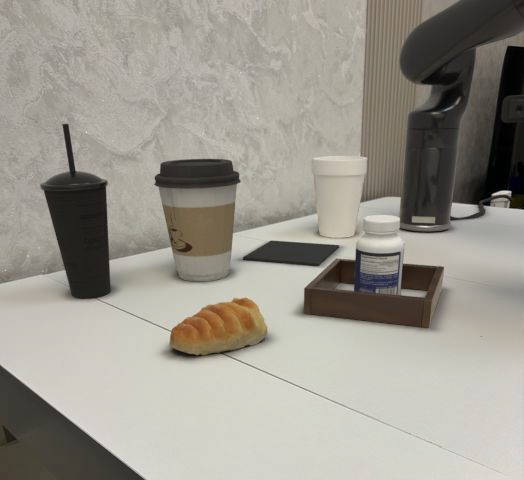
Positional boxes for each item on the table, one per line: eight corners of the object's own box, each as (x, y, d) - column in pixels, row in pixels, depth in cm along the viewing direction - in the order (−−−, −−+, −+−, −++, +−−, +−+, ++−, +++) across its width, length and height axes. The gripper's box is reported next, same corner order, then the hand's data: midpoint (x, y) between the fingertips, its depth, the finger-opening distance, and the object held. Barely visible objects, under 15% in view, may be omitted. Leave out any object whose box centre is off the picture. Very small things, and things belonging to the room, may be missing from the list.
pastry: (193, 367, 49) (189, 327, 48) (156, 345, 54) (152, 308, 53) (273, 340, 55) (272, 303, 53) (233, 322, 59) (231, 288, 58)
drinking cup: (102, 280, 75) (80, 122, 67) (133, 291, 70) (112, 122, 62) (49, 293, 70) (18, 125, 62) (77, 306, 65) (47, 125, 57)
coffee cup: (146, 276, 77) (134, 163, 71) (207, 259, 84) (200, 156, 78) (200, 291, 69) (191, 168, 63) (261, 272, 77) (258, 160, 71)
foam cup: (316, 227, 105) (318, 155, 99) (365, 229, 102) (369, 155, 97) (306, 238, 96) (307, 160, 91) (359, 240, 94) (363, 160, 89)
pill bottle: (362, 291, 68) (367, 212, 64) (405, 297, 66) (412, 215, 62) (346, 304, 64) (350, 220, 60) (391, 311, 61) (398, 224, 57)
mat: (271, 242, 94) (270, 240, 94) (339, 247, 90) (339, 245, 90) (242, 259, 84) (242, 257, 84) (318, 266, 80) (318, 263, 79)
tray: (335, 280, 73) (336, 258, 72) (441, 289, 68) (444, 266, 67) (303, 313, 61) (304, 288, 60) (429, 328, 57) (432, 300, 55)
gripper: (700, 55, 51) (509, 71, 57) (755, 36, 39) (505, 59, 45) (681, 141, 53) (501, 148, 60) (727, 149, 41) (495, 156, 48)
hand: (503, 110), depth 52 cm, fingers open, 8 cm apart
